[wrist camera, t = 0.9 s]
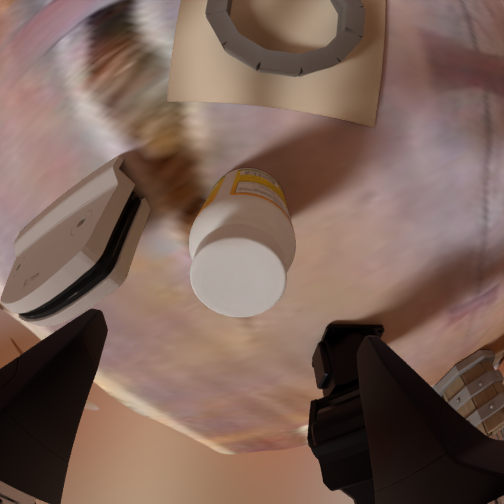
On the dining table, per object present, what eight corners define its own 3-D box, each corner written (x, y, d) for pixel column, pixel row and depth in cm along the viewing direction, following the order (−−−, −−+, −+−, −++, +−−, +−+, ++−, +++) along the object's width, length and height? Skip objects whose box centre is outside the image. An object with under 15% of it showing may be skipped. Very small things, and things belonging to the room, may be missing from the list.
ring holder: (382, -26, 9) (395, -37, 7) (371, 127, 16) (386, 130, 14) (196, -53, 9) (189, -68, 7) (169, 101, 16) (156, 100, 14)
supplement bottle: (270, 156, 18) (283, 199, 9) (293, 224, 20) (318, 310, 12) (197, 183, 19) (150, 246, 10) (226, 246, 21) (208, 338, 13)
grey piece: (123, 151, 17) (74, 251, 11) (156, 196, 21) (134, 302, 14) (18, 233, 21) (-18, 312, 14) (46, 259, 24) (19, 338, 17)
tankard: (495, 337, 28) (533, 404, 15) (483, 372, 34) (510, 428, 20) (394, 395, 33) (417, 477, 20) (398, 419, 38) (415, 483, 25)
